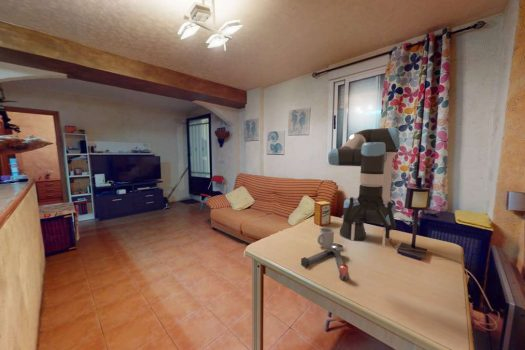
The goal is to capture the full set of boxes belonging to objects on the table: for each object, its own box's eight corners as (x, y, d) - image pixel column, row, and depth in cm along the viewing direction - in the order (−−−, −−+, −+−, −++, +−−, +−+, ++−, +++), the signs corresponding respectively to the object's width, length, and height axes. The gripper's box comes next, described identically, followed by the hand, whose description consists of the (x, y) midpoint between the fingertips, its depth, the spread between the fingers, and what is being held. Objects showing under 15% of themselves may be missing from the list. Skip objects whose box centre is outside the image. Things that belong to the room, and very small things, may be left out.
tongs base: (332, 251, 104) (332, 244, 103) (342, 256, 99) (342, 248, 98) (301, 265, 91) (301, 256, 91) (310, 271, 86) (311, 263, 86)
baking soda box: (323, 221, 148) (324, 200, 146) (330, 224, 142) (331, 202, 140) (314, 223, 144) (314, 202, 142) (320, 226, 138) (321, 204, 136)
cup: (336, 246, 109) (336, 231, 108) (322, 250, 104) (322, 234, 103) (326, 241, 115) (327, 226, 114) (313, 244, 111) (313, 229, 110)
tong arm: (329, 252, 102) (330, 242, 102) (341, 253, 101) (341, 243, 101) (336, 279, 81) (337, 267, 80) (351, 281, 79) (352, 269, 79)
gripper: (408, 186, 69) (402, 246, 72) (341, 181, 82) (339, 232, 84) (409, 189, 63) (403, 255, 66) (336, 183, 76) (334, 239, 78)
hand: (367, 242), depth 75 cm, fingers open, 10 cm apart
